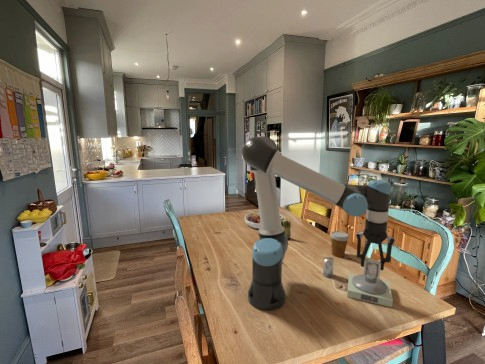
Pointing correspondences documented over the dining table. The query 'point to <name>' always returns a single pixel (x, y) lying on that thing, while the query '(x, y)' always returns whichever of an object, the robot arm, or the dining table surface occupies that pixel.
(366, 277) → the cylinder
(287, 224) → the asparagus bundle
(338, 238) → the disposable coffee cup
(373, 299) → the kitchen scale
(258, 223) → the bowl
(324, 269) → the spacer
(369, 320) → the dining table surface
